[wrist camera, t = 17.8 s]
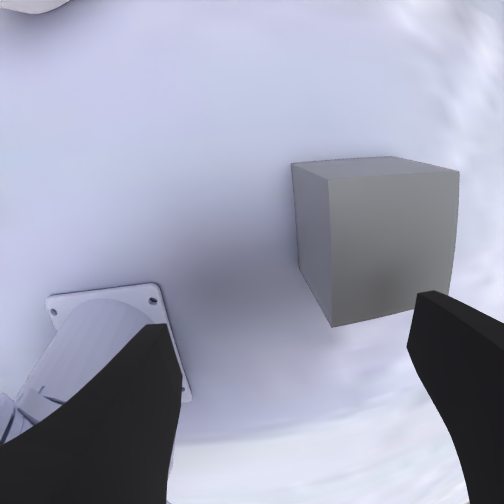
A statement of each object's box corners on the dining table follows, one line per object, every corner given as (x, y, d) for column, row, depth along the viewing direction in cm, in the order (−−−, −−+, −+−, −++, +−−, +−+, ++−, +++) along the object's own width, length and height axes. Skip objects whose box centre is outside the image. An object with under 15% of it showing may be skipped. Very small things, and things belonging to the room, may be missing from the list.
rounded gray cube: (392, 254, 19) (447, 299, 13) (299, 269, 18) (331, 327, 13) (392, 156, 16) (459, 171, 11) (291, 163, 16) (327, 179, 11)
